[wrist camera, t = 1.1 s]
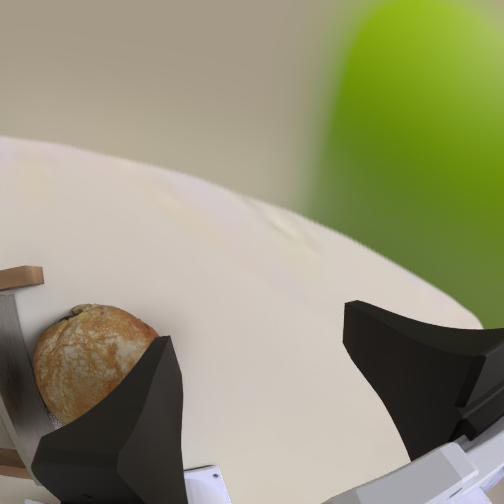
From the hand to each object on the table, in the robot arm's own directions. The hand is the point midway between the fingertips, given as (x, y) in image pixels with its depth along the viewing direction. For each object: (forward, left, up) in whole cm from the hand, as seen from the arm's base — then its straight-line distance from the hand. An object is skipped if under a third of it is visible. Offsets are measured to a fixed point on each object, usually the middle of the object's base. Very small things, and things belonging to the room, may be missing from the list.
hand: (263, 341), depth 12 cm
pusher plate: (-3, +16, -10) cm, 19 cm away
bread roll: (-3, +9, -10) cm, 14 cm away
